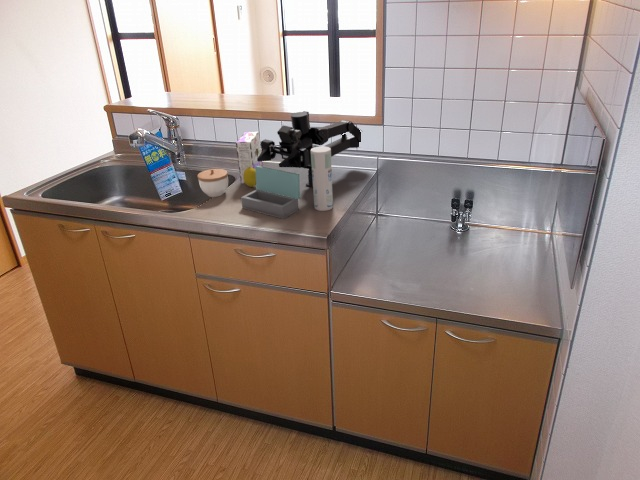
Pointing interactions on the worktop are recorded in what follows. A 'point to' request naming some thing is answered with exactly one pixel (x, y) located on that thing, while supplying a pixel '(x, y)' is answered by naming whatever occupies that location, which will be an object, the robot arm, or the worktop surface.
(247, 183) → the lemon
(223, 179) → the lidded jar
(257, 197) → the grey rectangular box
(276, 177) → the lid
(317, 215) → the worktop surface
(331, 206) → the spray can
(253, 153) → the candy box
